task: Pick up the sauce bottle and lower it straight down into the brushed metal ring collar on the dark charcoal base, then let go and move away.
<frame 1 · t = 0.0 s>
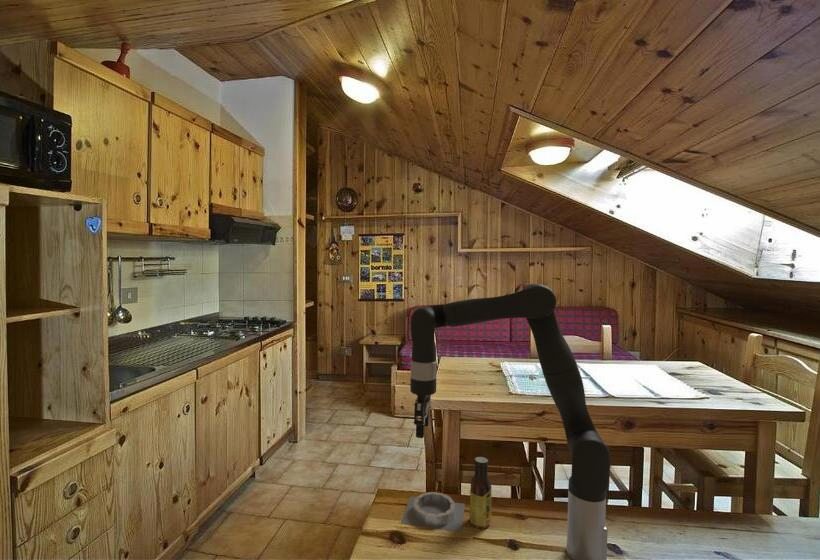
hand: (422, 431, 113), 29 cm above the table, tool pointing down, fingers open, 8 cm apart
sauce bottle: (480, 526, 117), on the table
charcoal base: (434, 517, 120), on the table
metal collar: (434, 513, 120), resting on charcoal base
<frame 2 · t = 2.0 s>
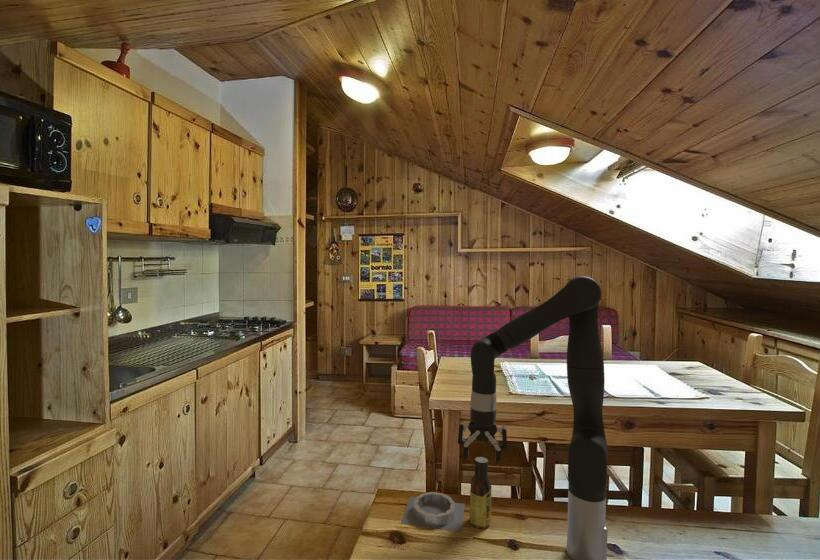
hand: (481, 459, 116), 20 cm above the table, tool pointing down, fingers open, 8 cm apart
nothing on the table moved.
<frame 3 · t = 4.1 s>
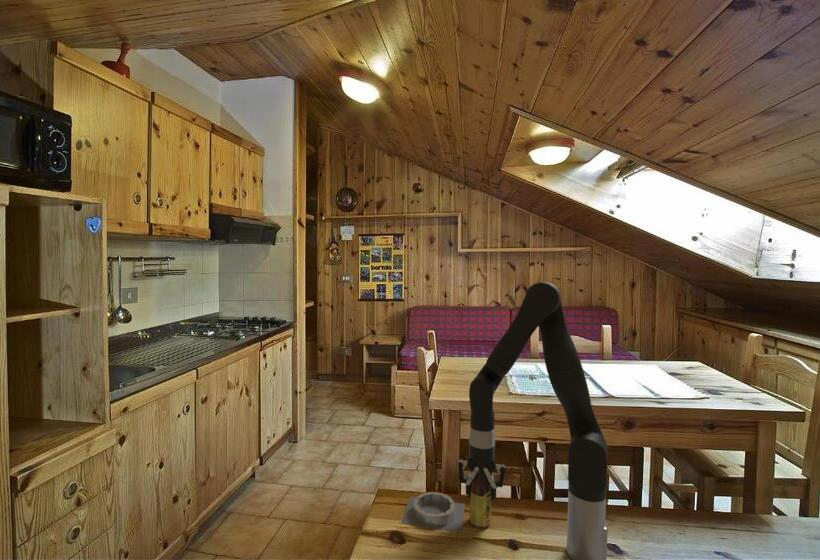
hand: (480, 497, 117), 9 cm above the table, tool pointing down, fingers closed on sauce bottle, 6 cm apart
sauce bottle: (480, 526, 117), on the table, touching gripper
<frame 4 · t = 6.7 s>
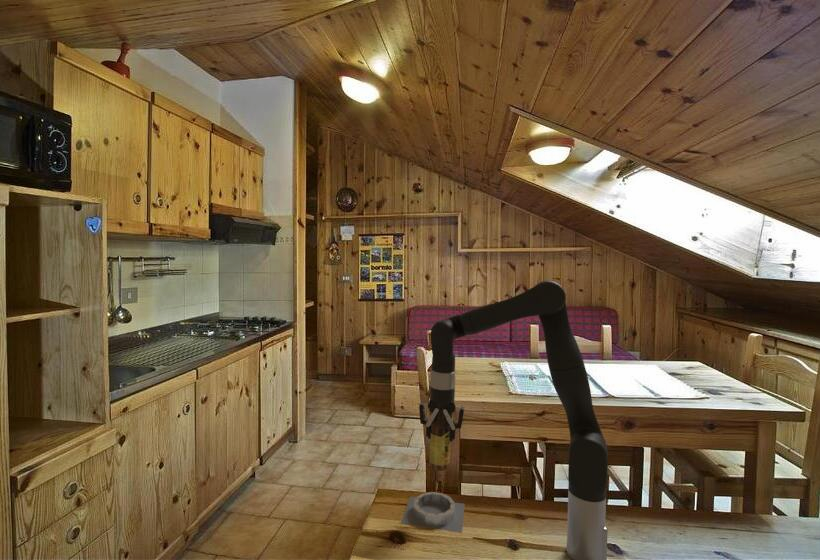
hand: (440, 438, 120), 24 cm above the table, tool pointing down, fingers closed on sauce bottle, 6 cm apart
sauce bottle: (439, 467, 120), point 16 cm above the table, touching gripper
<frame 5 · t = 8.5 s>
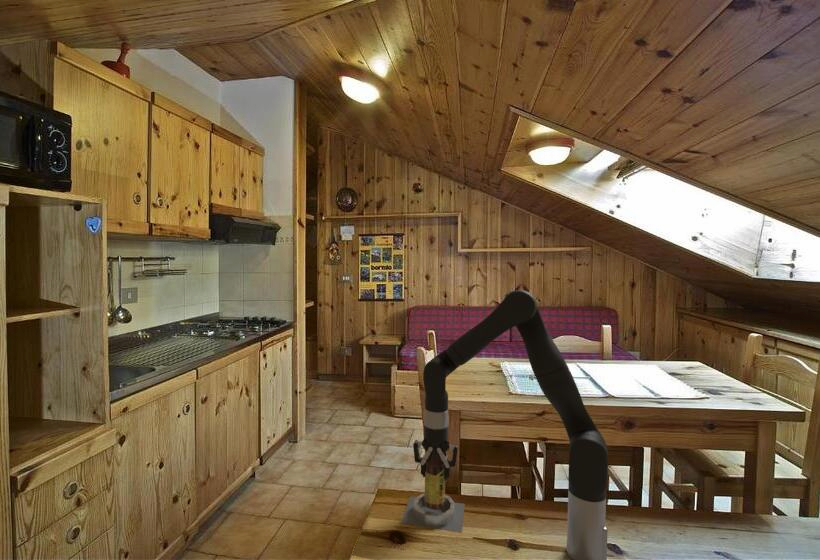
hand: (435, 476, 120), 13 cm above the table, tool pointing down, fingers closed on sauce bottle, 6 cm apart
sauce bottle: (434, 505, 120), point 4 cm above the table, touching gripper
when the fingers open (11 cm above the table, at t = 9.7 s): sauce bottle drops 1 cm, resting on charcoal base.
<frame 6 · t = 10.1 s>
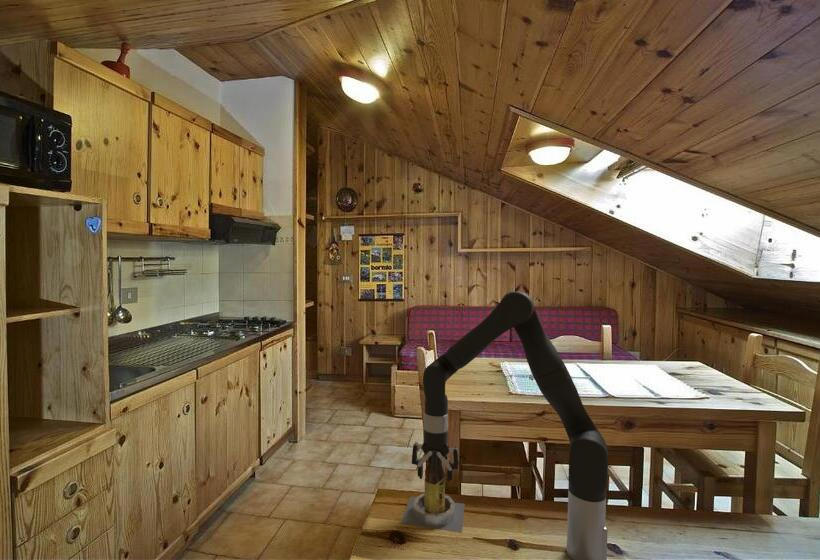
hand: (434, 479, 120), 12 cm above the table, tool pointing down, fingers open, 8 cm apart
sauce bottle: (434, 513, 120), point 1 cm above the table, touching charcoal base
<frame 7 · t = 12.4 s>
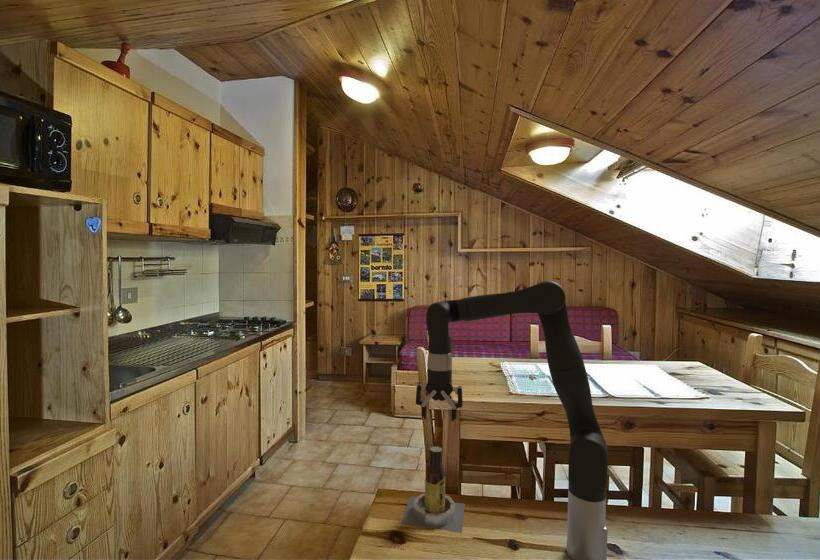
hand: (438, 419, 120), 30 cm above the table, tool pointing down, fingers open, 8 cm apart
nothing on the table moved.
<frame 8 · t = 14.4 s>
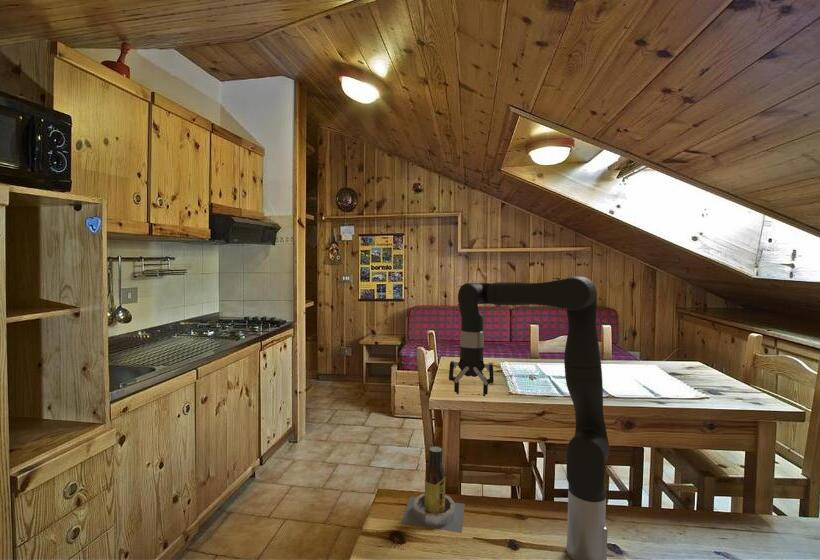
hand: (470, 394, 126), 36 cm above the table, tool pointing down, fingers open, 8 cm apart
nothing on the table moved.
at the end: sauce bottle 0.1 cm off-centre on the metal collar, point 0.0 cm above the metal collar's base; sauce bottle tilted 0°; the gripper is holding nothing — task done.
